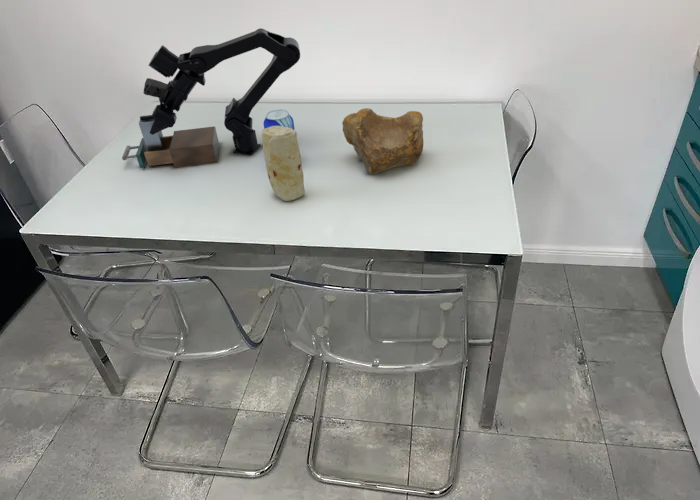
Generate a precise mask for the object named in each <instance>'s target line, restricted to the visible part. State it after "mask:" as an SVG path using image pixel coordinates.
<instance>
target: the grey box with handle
mask: <svg viewBox="0 0 700 500" xmlns="http://www.w3.org/2000/svg"><path fill="white" fill-rule="evenodd" d="M153 123H154V118H153V116H152V114H147V115H140V116H139V121H138V126H139V129H140V133H141V135H142V138H144V141H145V145H146V148H147V151H148V152H151V151H160V150H168V149H167V147H166V144H165V141H164V134H163V130H162V131H160V132H158V133H156V134H154V135H152V134H150V130H151V127H152V125H153Z"/></svg>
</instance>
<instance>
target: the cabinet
mask: <svg viewBox="0 0 700 500" xmlns="http://www.w3.org/2000/svg"><path fill="white" fill-rule="evenodd" d="M172 136H173V137H172V141H171V144H170V148H169V151H170V154H171V157H172V161H173V163H172V164H173V167H174V168H175V169H176V168H184V167H193V166H199V165H200V166H201V165H207V164H217V163H218V157H219V148H220V141H219V137H218V132H217V128H216V126H207V127H205V126H204V127H198V128H188V129H181V130H174V131H173V134H172Z"/></svg>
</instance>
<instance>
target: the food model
mask: <svg viewBox="0 0 700 500" xmlns="http://www.w3.org/2000/svg"><path fill="white" fill-rule="evenodd" d="M294 129H295V128H294ZM294 129H292V128H288V127H283V126H271V127H268V128H265V129H264V128H263V129H262V131H261V139H262V148H263V149H262V150H263V155H264V163H265V168H266V173H267V177H268V180H269V184H270V187H271V189H272V191H273V193H274V195H275V196H276V197H278V198H279V199H281V200H282V201H285V202H292V201H294V200H297V199H299V198H301V197H303V196H304V194H305V192H306V189H305V181H304V179H305V178H304V172H303V171H304V169H303V166H302V165H303V164H302V157H301V151H300V146H299V142H298V136H297V131H296V129H295V130H294Z"/></svg>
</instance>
